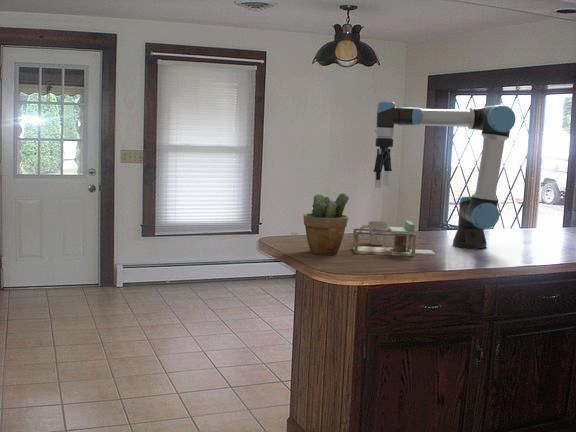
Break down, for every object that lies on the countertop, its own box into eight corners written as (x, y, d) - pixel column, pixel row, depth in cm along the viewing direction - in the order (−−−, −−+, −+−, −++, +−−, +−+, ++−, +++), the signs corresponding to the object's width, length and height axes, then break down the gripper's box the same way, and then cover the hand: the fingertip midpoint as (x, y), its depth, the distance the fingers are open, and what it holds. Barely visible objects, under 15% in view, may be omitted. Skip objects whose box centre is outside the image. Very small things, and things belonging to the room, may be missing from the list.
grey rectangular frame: (410, 251, 299) (411, 231, 298) (414, 256, 287) (416, 235, 286) (352, 248, 299) (353, 228, 298) (354, 253, 287) (355, 232, 286)
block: (404, 252, 295) (405, 234, 294) (405, 254, 291) (406, 235, 290) (393, 252, 295) (394, 233, 294) (394, 253, 291) (396, 235, 290)
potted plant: (315, 257, 273) (318, 194, 270) (293, 249, 289) (296, 190, 286) (354, 255, 282) (357, 194, 279) (330, 248, 298) (334, 190, 295)
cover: (409, 230, 298) (409, 220, 298) (414, 234, 286) (414, 224, 285) (388, 229, 298) (389, 219, 298) (392, 233, 286) (392, 223, 285)
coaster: (431, 251, 301) (431, 250, 301) (435, 255, 292) (435, 253, 292) (410, 250, 301) (410, 249, 301) (413, 254, 292) (414, 252, 292)
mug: (385, 246, 310) (386, 224, 309) (357, 244, 312) (358, 222, 311) (386, 243, 318) (387, 222, 317) (359, 241, 320) (360, 220, 319)
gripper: (383, 137, 313) (380, 184, 315) (368, 137, 290) (366, 187, 292) (399, 138, 310) (397, 185, 312) (386, 137, 287) (383, 188, 289)
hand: (382, 186), depth 302 cm, fingers open, 13 cm apart
